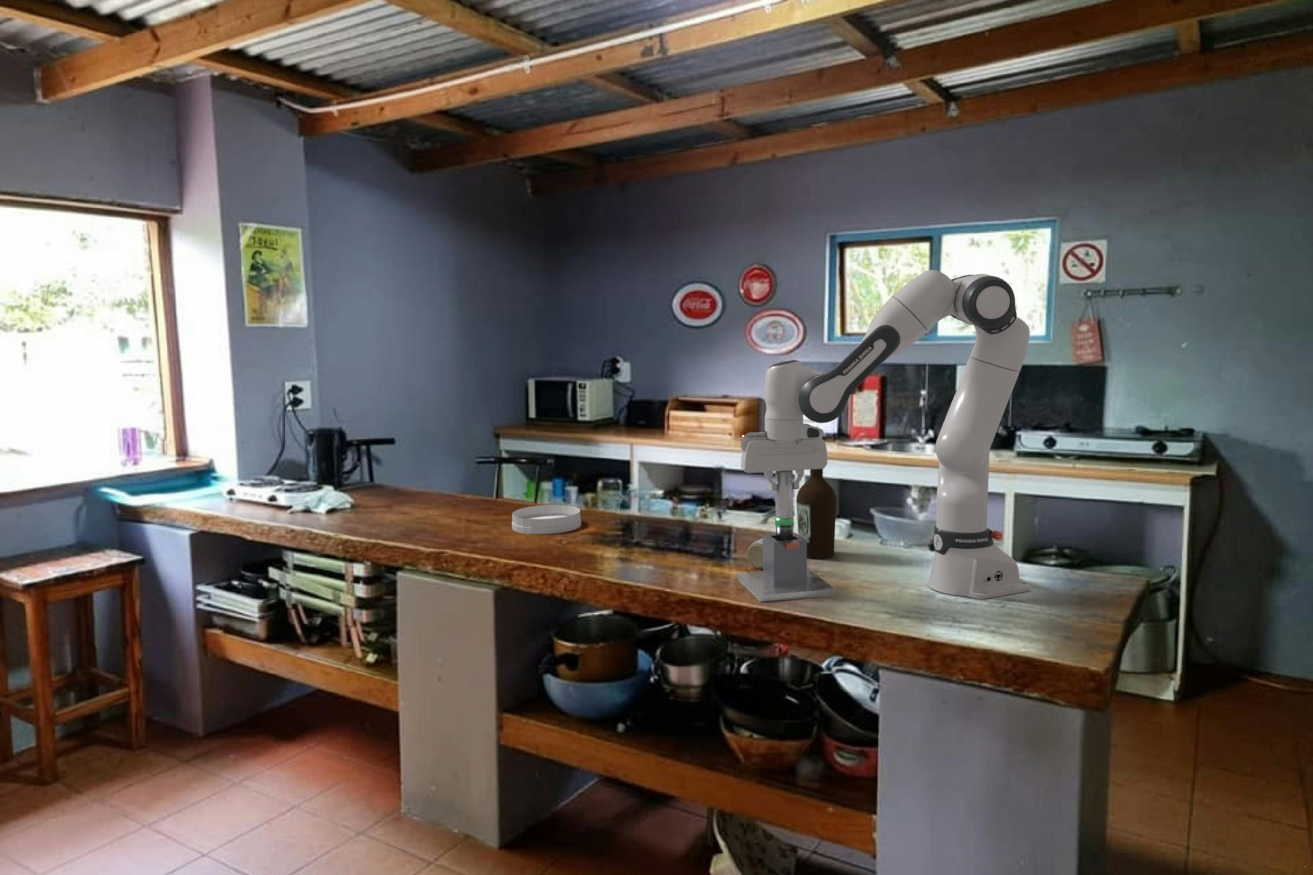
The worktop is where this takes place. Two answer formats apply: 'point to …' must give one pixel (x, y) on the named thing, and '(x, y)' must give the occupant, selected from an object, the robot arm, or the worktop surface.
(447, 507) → the worktop surface
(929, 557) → the worktop surface
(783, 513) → the grey green banded cylinder
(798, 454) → the robot arm
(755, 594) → the stand base
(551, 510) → the dish
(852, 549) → the worktop surface
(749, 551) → the ceramic mug
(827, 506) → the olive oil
